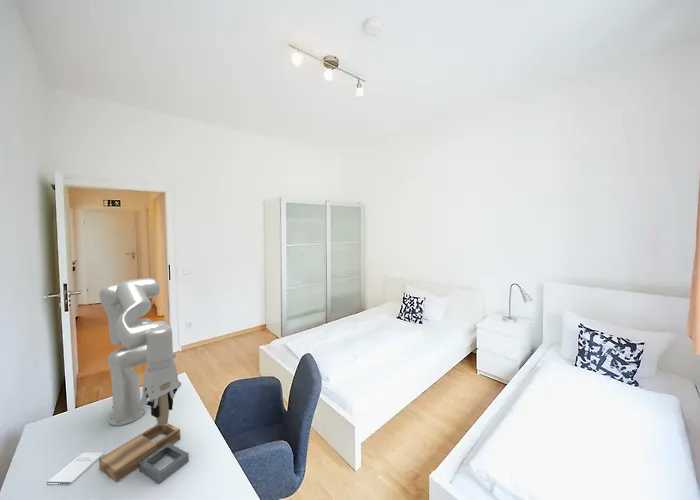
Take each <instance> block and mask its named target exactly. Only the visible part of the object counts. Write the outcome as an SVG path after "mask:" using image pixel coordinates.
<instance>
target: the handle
mask: <svg viewBox="0 0 700 500" xmlns="http://www.w3.org/2000/svg"><path fill="white" fill-rule="evenodd" d="M170 386H171V382H170V383H168V384H166V385H164V386H162V387H160V391H163V390H166V389H167V388H169V387H170ZM157 406H159V417H158V418H156V422H157V424H158V426H164V425H165V424H167V423H168V424H169V416H170V410H169V403H168V394H167V393H166V394H164V395H162V396H161V397H159V398H158V404H157ZM157 424H156V425H157Z"/></svg>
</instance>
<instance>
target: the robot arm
mask: <svg viewBox="0 0 700 500" xmlns="http://www.w3.org/2000/svg"><path fill="white" fill-rule="evenodd" d="M160 292H161V286H160V284H159V282H158V280H157V279H156V278H153V277H145V278H136V279H129V280H124V281H122V282H120V283H116V284H111V285H106V286H104V287H102V288H101V289H100V290H99V295H98V296H99V301H100V304H101V306H102V308H103V309H104V311H105V313H106V315H107V322H108V330H109V338H110V342H111V344H112V345H113V346H122V347H120V348H118V349H116V350H115V349H114V350H113V351H112V352H110V353H109V355H108V356H107V364H108V368H109V372H110V377H111V391H112V392H111V393H112V411H113V412H112V414H111V416H110V417H109V419H108V424H109V425H111V426H118V427H121V426H124V425H129V424H131V423H133V422H135V421H137V420H138V419H140V418H141V417H142V416H144V414H145V412H146V411H145V410H146V409H145V407H144V406H148V407H150V415H151V416H152V417H154V418H156V419H157V418H158V417H159V406H157V404H158V398H159V397H161V396H162V395H164V394H166V393H167V394H168V403H169V411H172V410H173V406H174V400H173V399H174V398H175V396H176V395H175V394H176V393H177V391H178V390H179V388H181V386H182V382H181V381H179V377H178V375H179V374H178V369H177V365H176V363H175V361H174V358H176V357H177V354H176V353H174V350H173V347H174V346H173V344H174V343H173V330H172V327H170V325H169V323H167V322H166V321H165V320H157V321H153V320H152V319H150V318H146V317H144V316H145V315H147V314H148V313H149V311H151V309H152V302H151V300H150V299H155V298H156V297H158V296H159V294H160ZM142 317H144V318H142ZM145 364H147V367H146V369H144V373H143V377H142V384H141V385H142V386H141V387H140V375H139V373H138V372H137V371H135V370H134V368H136V367H138V366H143V365H145ZM170 382H171V386H170V387H169V388H167V389H166V390H163V391H160V387H162V386H164V385H166V384H168V383H170ZM141 389H142V390H141ZM141 391H142V392H141ZM141 393H142V394H141ZM141 395H142V396H141ZM148 399H149V400H148Z"/></svg>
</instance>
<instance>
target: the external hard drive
mask: <svg viewBox="0 0 700 500" xmlns="http://www.w3.org/2000/svg"><path fill="white" fill-rule="evenodd" d="M103 456H105V454H104V452H83V451H82V452H81V453H80V454H79V455H78V456H76V457H75V458H74V459H73V460H71V461H70V462H69V463H68V464H67V465H66V466H64V467H63V468H61V469H60V470H59V471H58V472H57V473H56V474H55V475H53V476H52V477H51V478H49V479H48V480H47V481H46V484H47V483H58V484H59V483H60V484H72V483H73V484H74V483H75V482H77V480H79V479H80V478H81V477H82V476H83V475H84V474H85V473H86V472H87V471H88V470H89V469H91V468H92V467H93V465H95V464H96V463H97V462H99V458H101V457H103ZM73 484H72V485H73Z"/></svg>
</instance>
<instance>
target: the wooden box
mask: <svg viewBox="0 0 700 500" xmlns="http://www.w3.org/2000/svg"><path fill="white" fill-rule="evenodd" d="M161 434H164V435H165V436H164V437H163V438H161V439H159V440H158V441H156V442H155V441H153V439H155V438H156V437H158V436H159V435H161ZM180 439H181V429H180V428H178V427H177V426H174V425H172V424H170V423H169V422H168V423H167V424H165V425H164V426H158V424H156V425H154V426H152V427H150V428H148V429H147V430H145V431H144V432H142V433H140V434H139V435H137V436H135V437H133V438H132V439H130V440H128V441H127V442H125V443H123V444H122V445H120V446H118V447H117V448H115V449H113V450H112V451H109V452H108V453H106V454H104V455H103V456H102V457H101V458H99V460H98V467H99V469H98V470H100V472H102V473H104V474H105V475H106V476H108V477H109V478H111V479H112V480H114V481H115V482H116V483H118V482H119V481H121V480H122V479H123V478H125V477H127V476H128V475H130V474H131V473H132V472H134V471H136V469H139V464H138V463H139V462H141V461H142V460H144V459H145V458H147V457H148V456H150V455H151V454H153V453H154V452H155V451H157V450H158V449H160V448H161V447H163V446H164V445H166V444H167V443H170V444H172V445H174V444H175V443H176V442H178V441H179V440H180Z"/></svg>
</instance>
